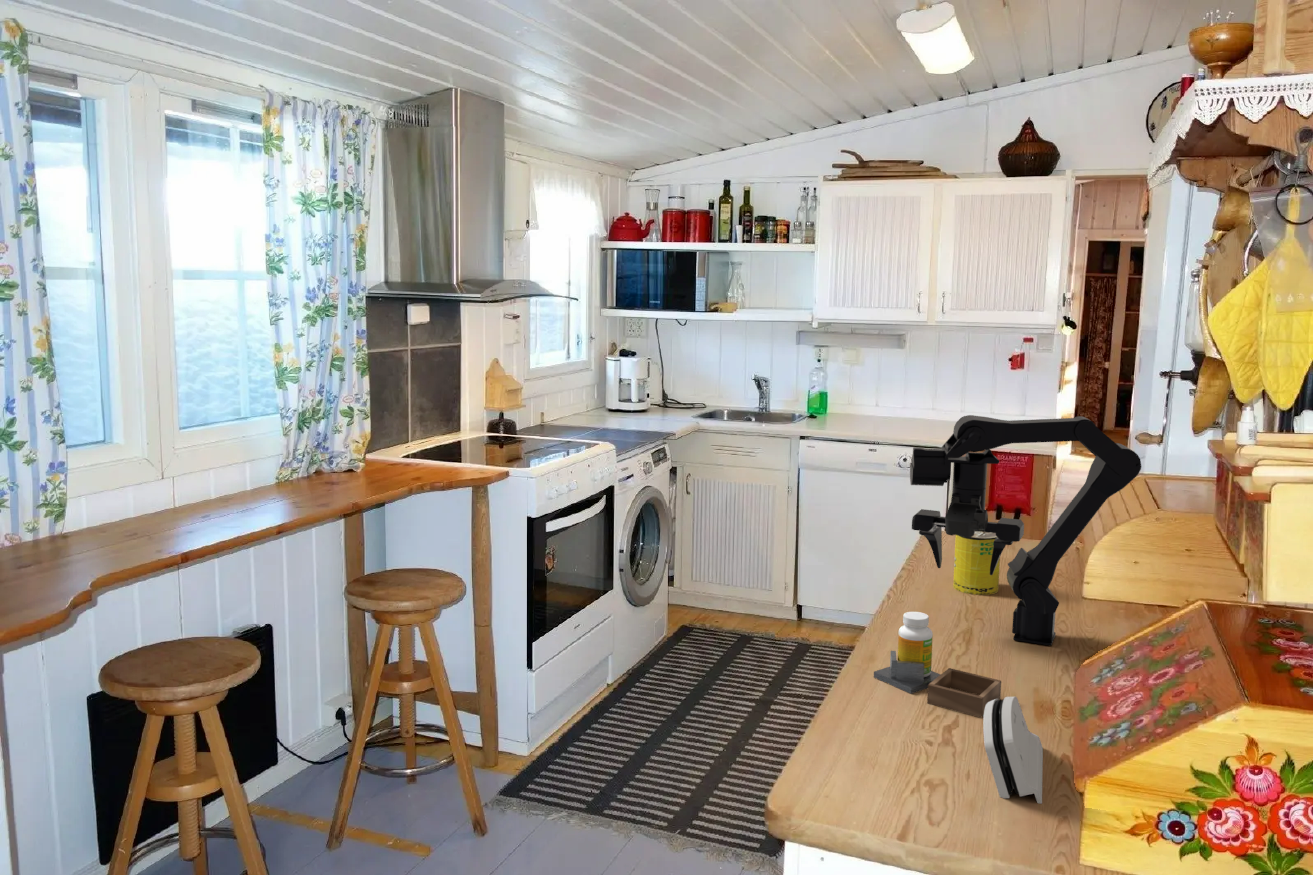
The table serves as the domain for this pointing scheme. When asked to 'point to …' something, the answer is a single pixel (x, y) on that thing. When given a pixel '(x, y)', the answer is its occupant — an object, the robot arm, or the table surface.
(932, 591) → the table surface
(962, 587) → the beverage can
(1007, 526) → the robot arm
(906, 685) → the v-block
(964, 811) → the table surface
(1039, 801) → the white black-striped casing block
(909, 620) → the supplement bottle
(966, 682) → the block
